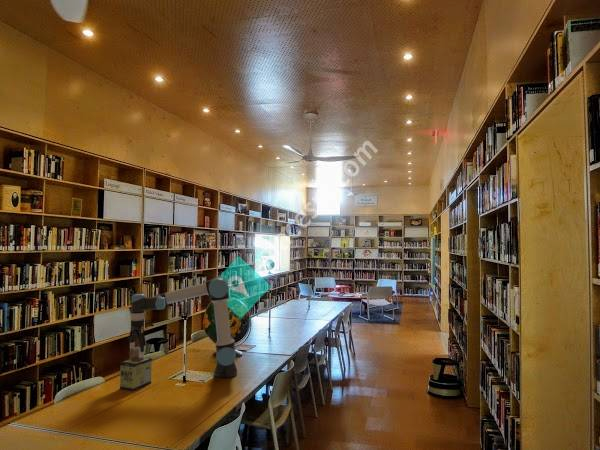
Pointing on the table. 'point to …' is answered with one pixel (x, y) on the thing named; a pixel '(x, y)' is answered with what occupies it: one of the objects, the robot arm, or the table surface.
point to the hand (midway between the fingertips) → (136, 355)
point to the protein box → (135, 374)
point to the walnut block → (135, 354)
